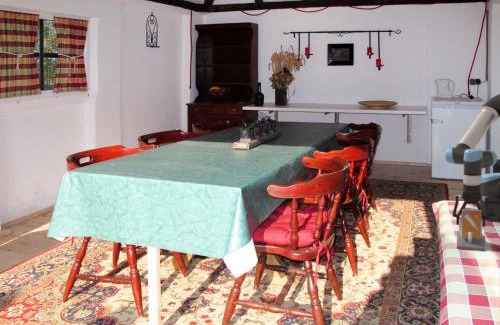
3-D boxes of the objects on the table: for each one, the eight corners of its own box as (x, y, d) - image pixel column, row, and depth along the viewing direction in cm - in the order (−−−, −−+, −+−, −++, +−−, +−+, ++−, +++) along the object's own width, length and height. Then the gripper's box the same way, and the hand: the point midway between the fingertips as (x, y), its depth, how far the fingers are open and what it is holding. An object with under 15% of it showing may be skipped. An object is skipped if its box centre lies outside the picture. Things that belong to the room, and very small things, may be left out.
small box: (461, 237, 248) (462, 210, 246) (460, 233, 254) (460, 206, 252) (480, 238, 246) (481, 210, 244) (478, 234, 252) (480, 206, 250)
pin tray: (457, 233, 262) (457, 221, 261) (482, 235, 258) (482, 222, 257) (456, 248, 242) (457, 235, 241) (483, 250, 238) (484, 237, 237)
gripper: (497, 182, 245) (495, 231, 249) (447, 180, 253) (445, 228, 257) (498, 186, 238) (496, 236, 242) (446, 184, 246) (445, 233, 250)
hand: (470, 232), depth 250 cm, fingers closed on small box, 8 cm apart
